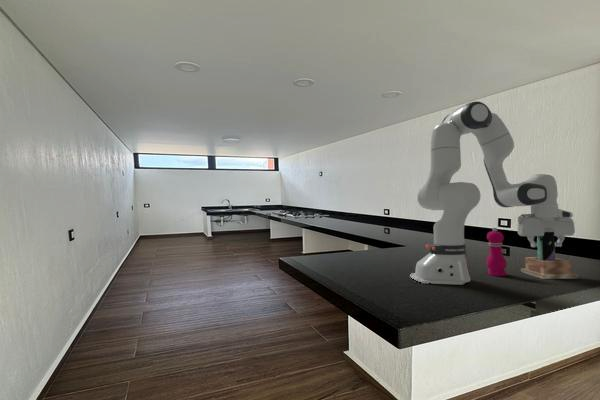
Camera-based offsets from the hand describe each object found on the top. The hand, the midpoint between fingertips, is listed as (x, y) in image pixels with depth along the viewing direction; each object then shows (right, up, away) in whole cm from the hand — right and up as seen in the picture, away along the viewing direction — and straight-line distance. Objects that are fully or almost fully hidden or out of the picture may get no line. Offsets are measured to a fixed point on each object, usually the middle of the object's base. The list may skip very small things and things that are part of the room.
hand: (546, 246), depth 121 cm
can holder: (0, -12, 0) cm, 12 cm away
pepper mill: (-18, -12, +3) cm, 22 cm away
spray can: (0, -10, 0) cm, 10 cm away
